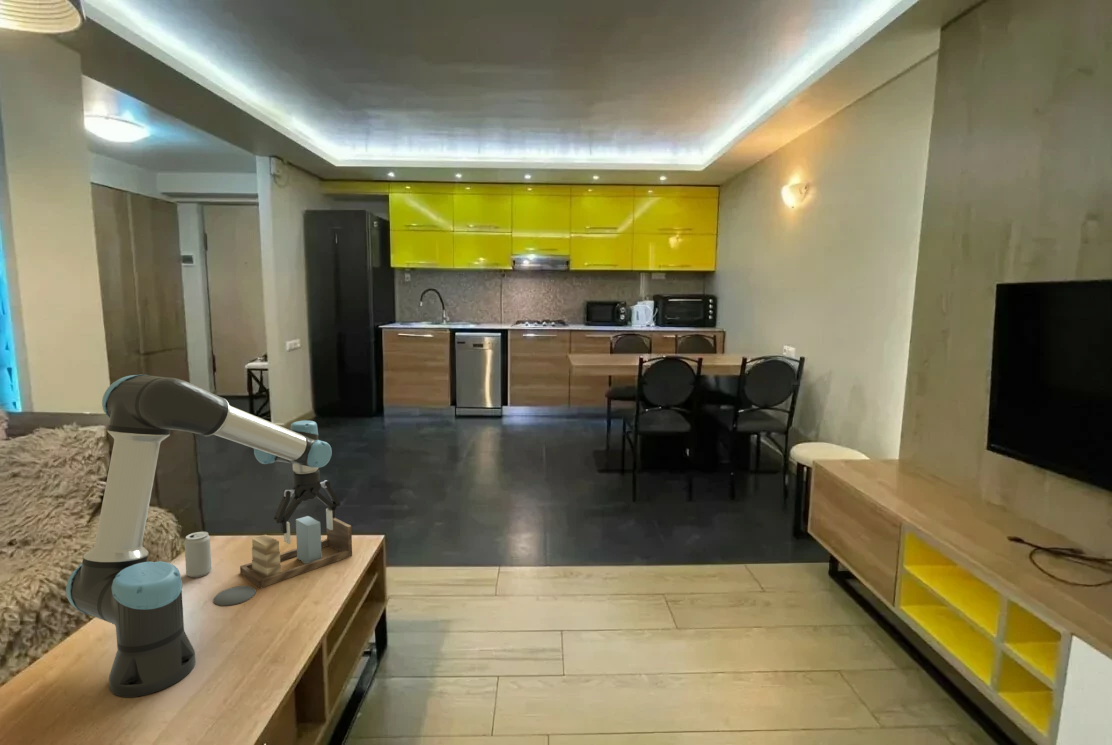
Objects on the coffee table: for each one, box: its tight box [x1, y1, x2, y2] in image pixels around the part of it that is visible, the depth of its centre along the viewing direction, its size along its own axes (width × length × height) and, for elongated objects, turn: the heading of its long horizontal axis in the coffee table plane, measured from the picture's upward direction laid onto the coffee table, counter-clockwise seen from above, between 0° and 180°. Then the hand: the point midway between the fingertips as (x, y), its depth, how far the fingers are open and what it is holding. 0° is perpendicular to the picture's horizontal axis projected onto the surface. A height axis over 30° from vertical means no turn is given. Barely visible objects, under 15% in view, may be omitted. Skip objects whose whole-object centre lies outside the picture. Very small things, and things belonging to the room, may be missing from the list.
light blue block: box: [295, 515, 323, 564], centre depth 173 cm, size 4×8×13 cm, turn 50°
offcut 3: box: [251, 559, 282, 579], centre depth 164 cm, size 4×10×4 cm, turn 52°
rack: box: [239, 517, 353, 589], centre depth 171 cm, size 28×14×10 cm, turn 140°
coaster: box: [213, 585, 256, 607], centre depth 152 cm, size 10×10×1 cm
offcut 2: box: [251, 547, 281, 569], centre depth 164 cm, size 4×9×4 cm, turn 52°
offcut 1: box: [251, 534, 280, 556], centre depth 163 cm, size 4×8×3 cm, turn 54°
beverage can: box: [183, 531, 212, 578], centre depth 164 cm, size 6×6×12 cm
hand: (309, 535), depth 174 cm, fingers open, 13 cm apart
